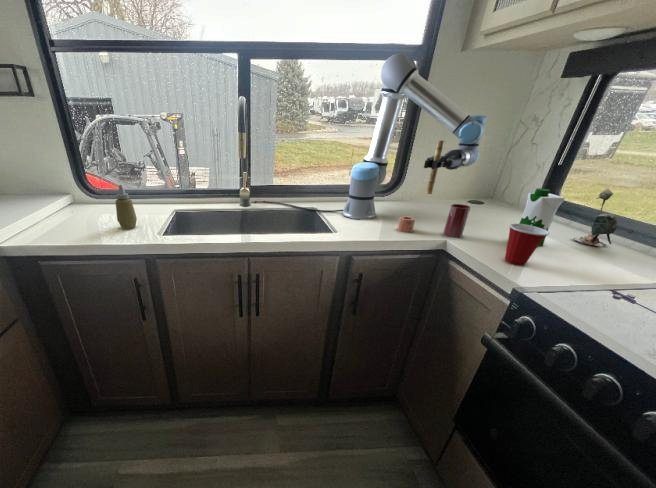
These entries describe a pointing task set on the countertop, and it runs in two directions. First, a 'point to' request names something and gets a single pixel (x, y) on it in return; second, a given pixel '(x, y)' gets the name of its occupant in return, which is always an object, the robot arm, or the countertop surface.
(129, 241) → the countertop surface
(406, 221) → the straw caddy
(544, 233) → the plastic cup
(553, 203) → the milk carton
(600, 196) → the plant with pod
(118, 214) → the squeeze bottle
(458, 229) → the can
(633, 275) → the countertop surface
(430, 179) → the straw
